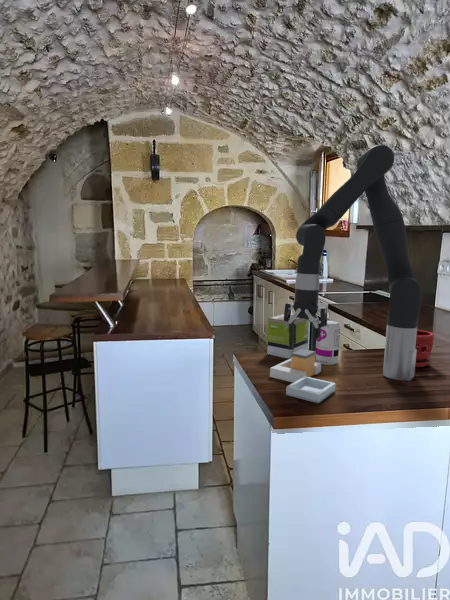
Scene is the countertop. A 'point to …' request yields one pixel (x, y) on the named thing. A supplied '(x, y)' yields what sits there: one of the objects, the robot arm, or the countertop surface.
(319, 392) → the tray
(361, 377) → the countertop surface
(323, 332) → the supplement can
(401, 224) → the robot arm
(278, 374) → the bay
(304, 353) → the orange grey block
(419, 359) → the plant pot
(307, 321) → the tea box
